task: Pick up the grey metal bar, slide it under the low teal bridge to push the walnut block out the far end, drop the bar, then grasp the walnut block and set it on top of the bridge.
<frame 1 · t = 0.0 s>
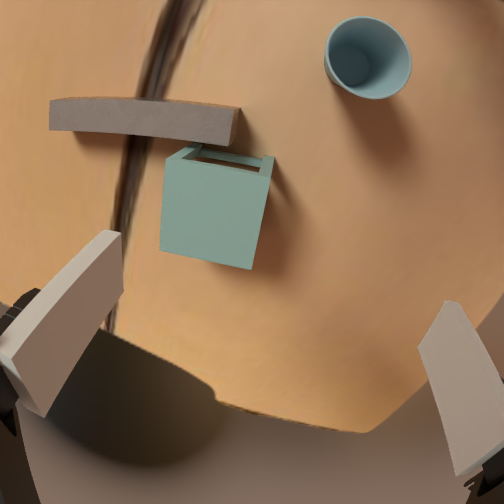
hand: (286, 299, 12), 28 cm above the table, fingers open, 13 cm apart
cup: (347, 65, 30), on the table
bridge: (226, 187, 39), on the table
grey bar: (144, 112, 35), on the table
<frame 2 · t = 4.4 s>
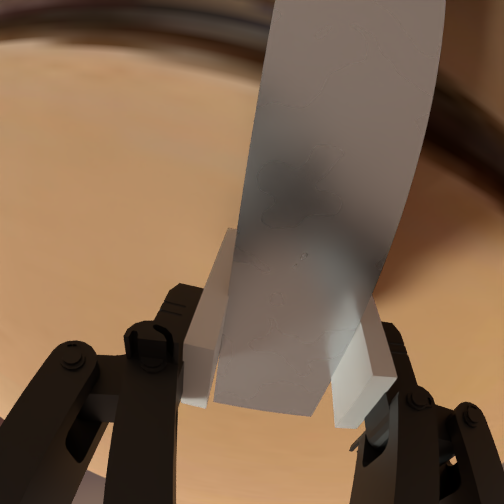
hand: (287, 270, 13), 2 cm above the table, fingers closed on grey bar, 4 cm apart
grey bar: (327, 79, 10), point 1 cm above the table, touching gripper
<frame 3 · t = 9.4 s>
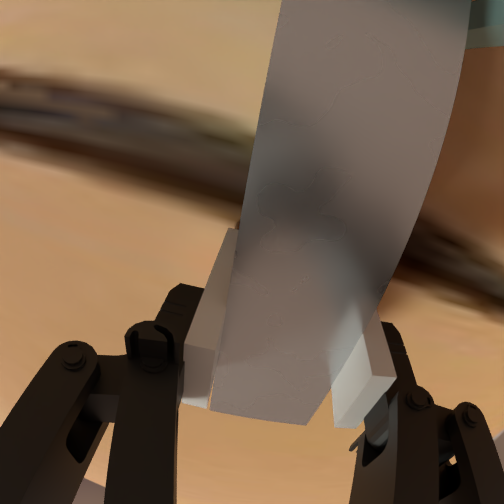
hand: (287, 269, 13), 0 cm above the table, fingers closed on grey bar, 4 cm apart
grey bar: (333, 82, 10), on the table, touching gripper
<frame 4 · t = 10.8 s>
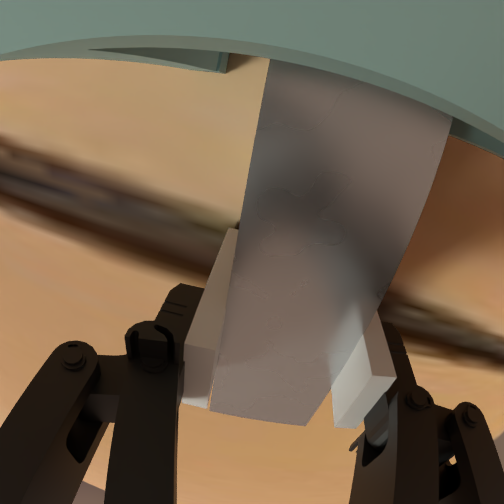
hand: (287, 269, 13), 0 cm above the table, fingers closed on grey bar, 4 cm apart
grey bar: (334, 83, 9), on the table, touching gripper
when the fingers open (0 cm above the table, at t = 12.0 s): grey bar stays where it is, on the table.
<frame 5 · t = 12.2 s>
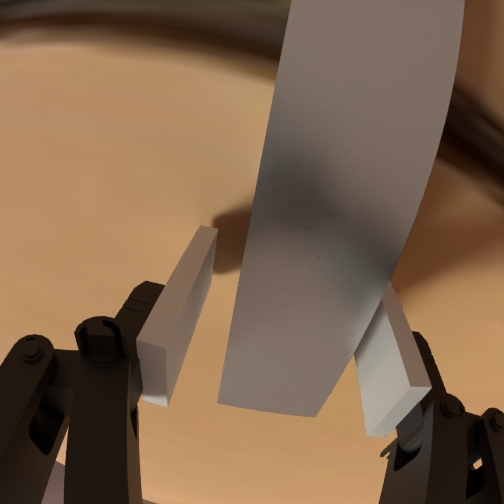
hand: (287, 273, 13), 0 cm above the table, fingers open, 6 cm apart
grey bar: (337, 76, 10), on the table
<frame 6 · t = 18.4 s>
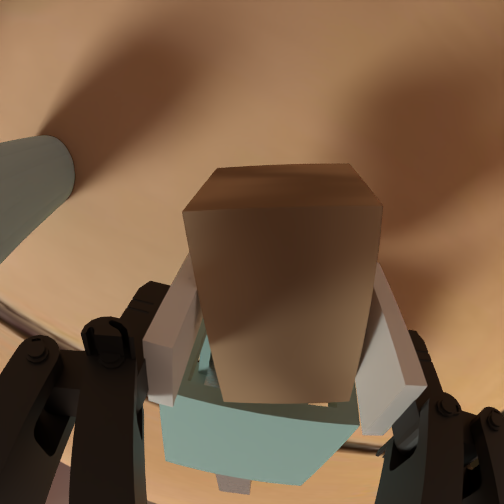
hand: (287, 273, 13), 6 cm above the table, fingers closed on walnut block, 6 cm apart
cup: (50, 170, 19), on the table
walnut block: (286, 258, 13), point 6 cm above the table, touching gripper
bridge: (261, 345, 24), on the table
grey bar: (238, 424, 31), on the table
when the fingers open (11 cm above the table, at t = 21.4 s): walnut block stays where it is, resting on bridge.
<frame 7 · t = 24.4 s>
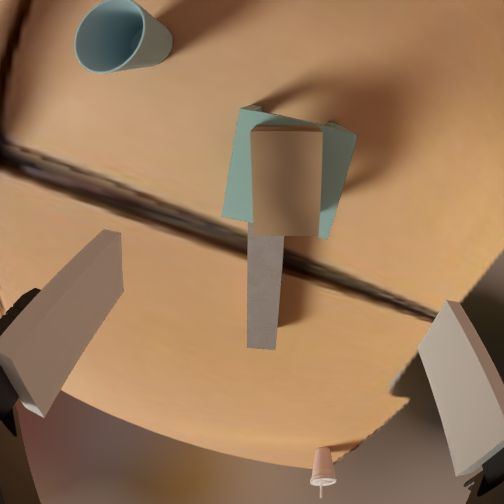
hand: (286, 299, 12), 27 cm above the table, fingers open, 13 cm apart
cup: (152, 45, 30), on the table
smoothie: (322, 449, 67), on the table
walnut block: (286, 170, 26), point 9 cm above the table, touching bridge
bridge: (286, 155, 35), on the table
grey bar: (267, 257, 42), on the table
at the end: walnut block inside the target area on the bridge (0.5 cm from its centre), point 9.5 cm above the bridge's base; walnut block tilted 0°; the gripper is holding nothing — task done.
